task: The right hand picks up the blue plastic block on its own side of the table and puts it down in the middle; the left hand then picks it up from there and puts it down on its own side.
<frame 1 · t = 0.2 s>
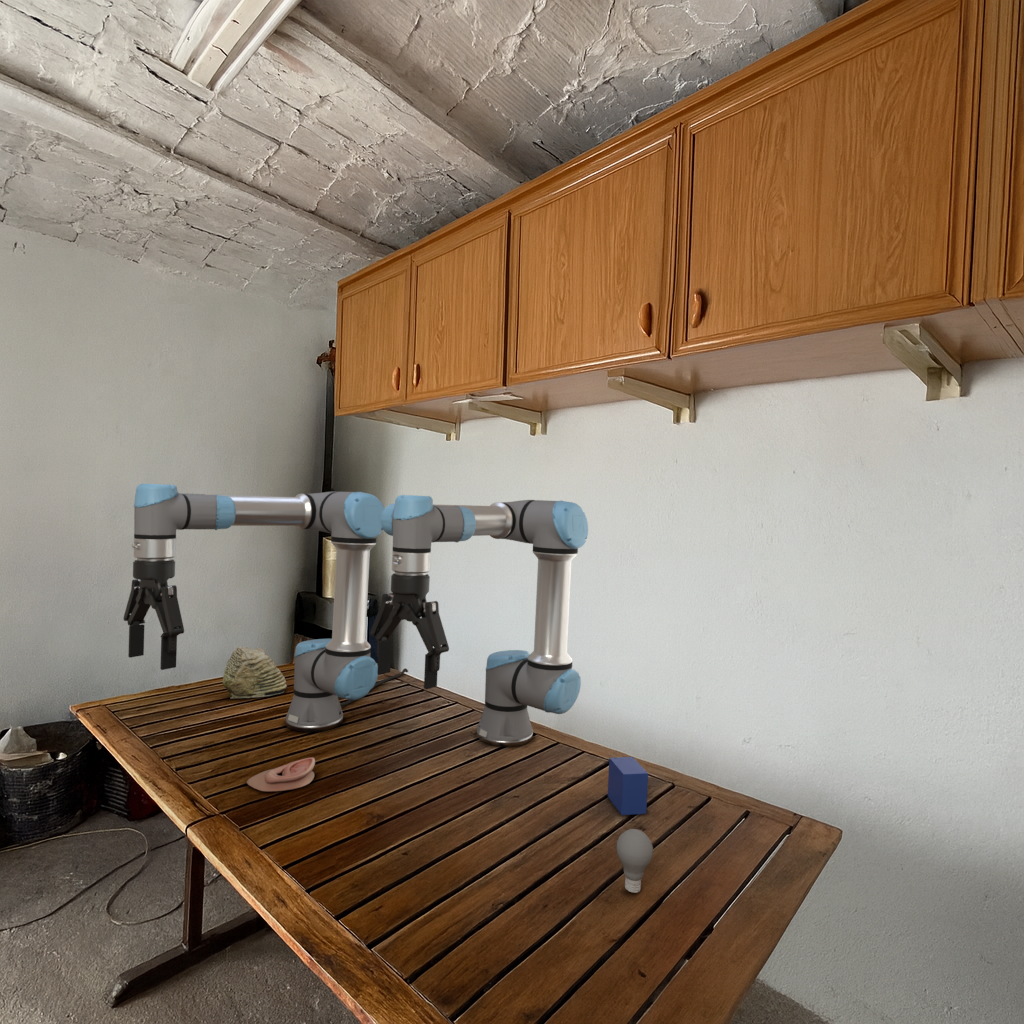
left hand: (151, 662, 130), 28 cm above the table, tool pointing down, fingers open, 13 cm apart
right hand: (406, 680, 125), 28 cm above the table, tool pointing down, fingers open, 13 cm apart
anatomical model: (281, 781, 140), on the table
light bulb: (632, 891, 106), on the table
fossil: (254, 694, 198), on the table
block: (626, 804, 136), on the table
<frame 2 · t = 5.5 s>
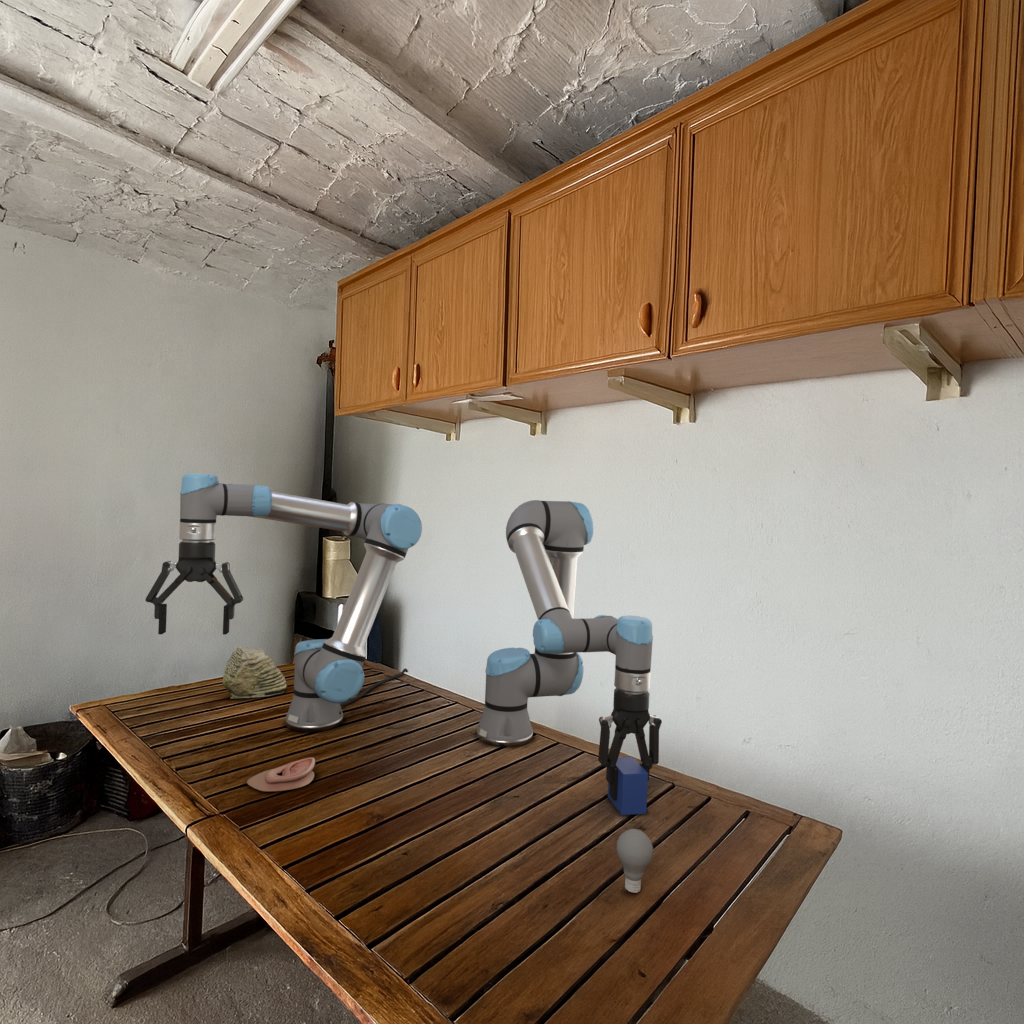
left hand: (194, 633, 146), 31 cm above the table, tool pointing down, fingers open, 13 cm apart
right hand: (626, 796, 136), 2 cm above the table, tool pointing down, fingers closed on block, 5 cm apart
block: (626, 804, 136), on the table, touching right hand
everything else where it was.
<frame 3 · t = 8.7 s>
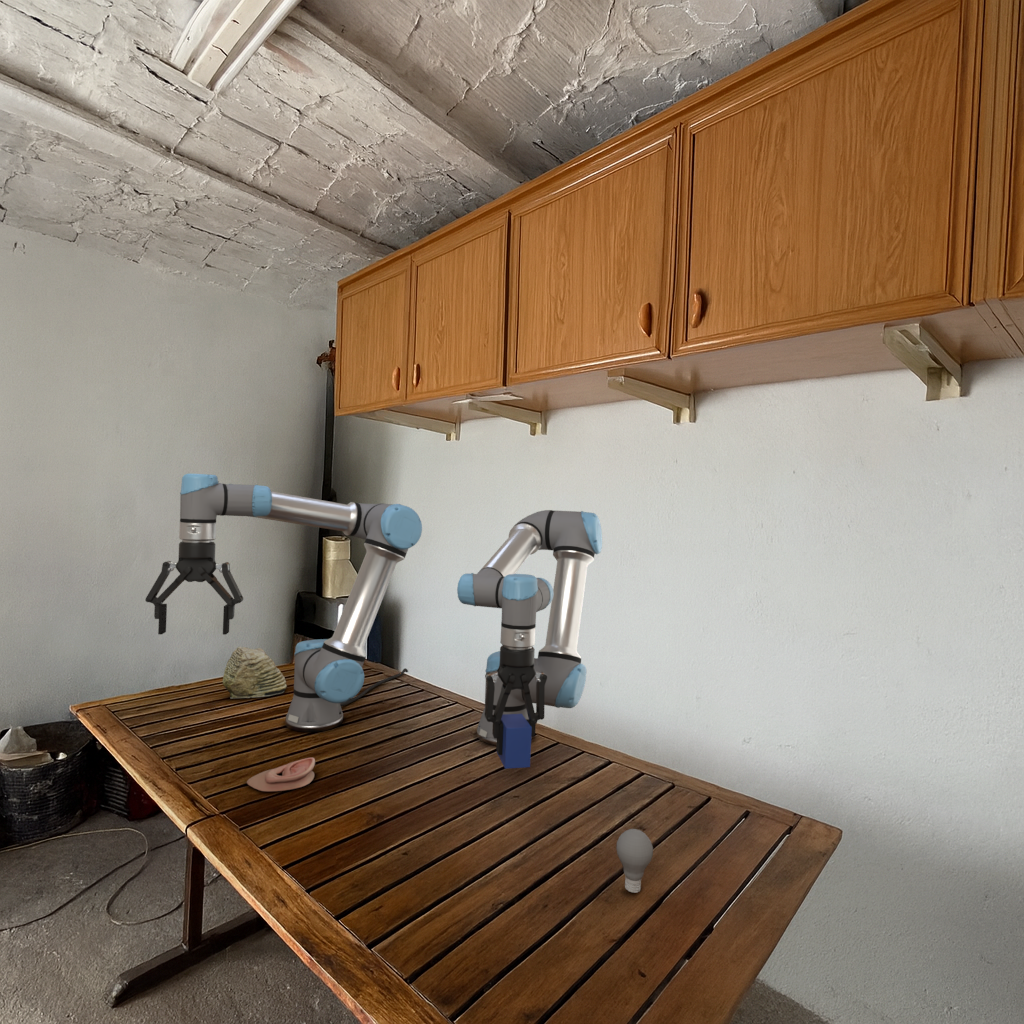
left hand: (194, 633, 146), 31 cm above the table, tool pointing down, fingers open, 13 cm apart
right hand: (513, 751, 138), 10 cm above the table, tool pointing down, fingers closed on block, 5 cm apart
block: (512, 759, 138), point 8 cm above the table, touching right hand
everything else where it was.
when the right hand's fingers open (3 cm above the table, at t = 12.1 s): block drops 1 cm, on the table.
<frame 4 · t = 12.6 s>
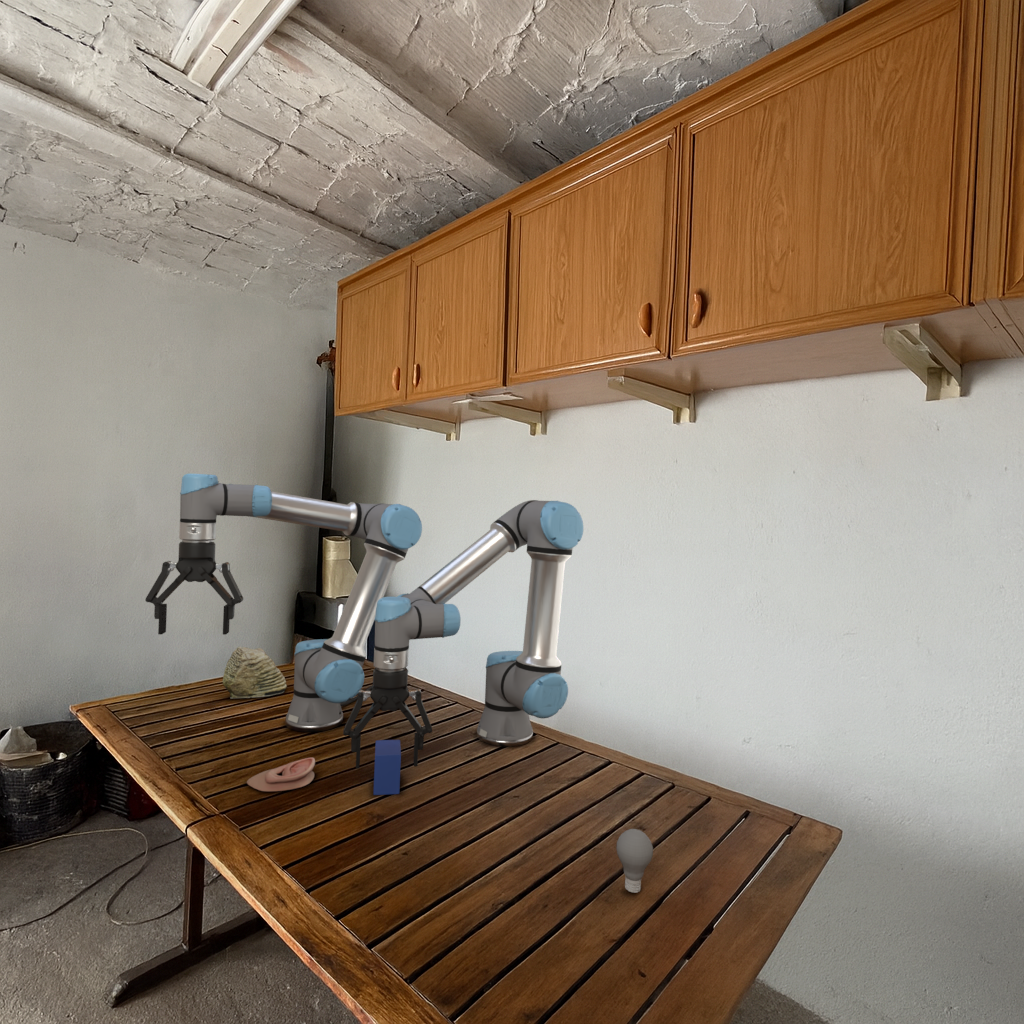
left hand: (194, 633, 146), 31 cm above the table, tool pointing down, fingers open, 13 cm apart
right hand: (386, 764, 140), 5 cm above the table, tool pointing down, fingers open, 12 cm apart
block: (386, 785, 140), on the table
everything else where it was.
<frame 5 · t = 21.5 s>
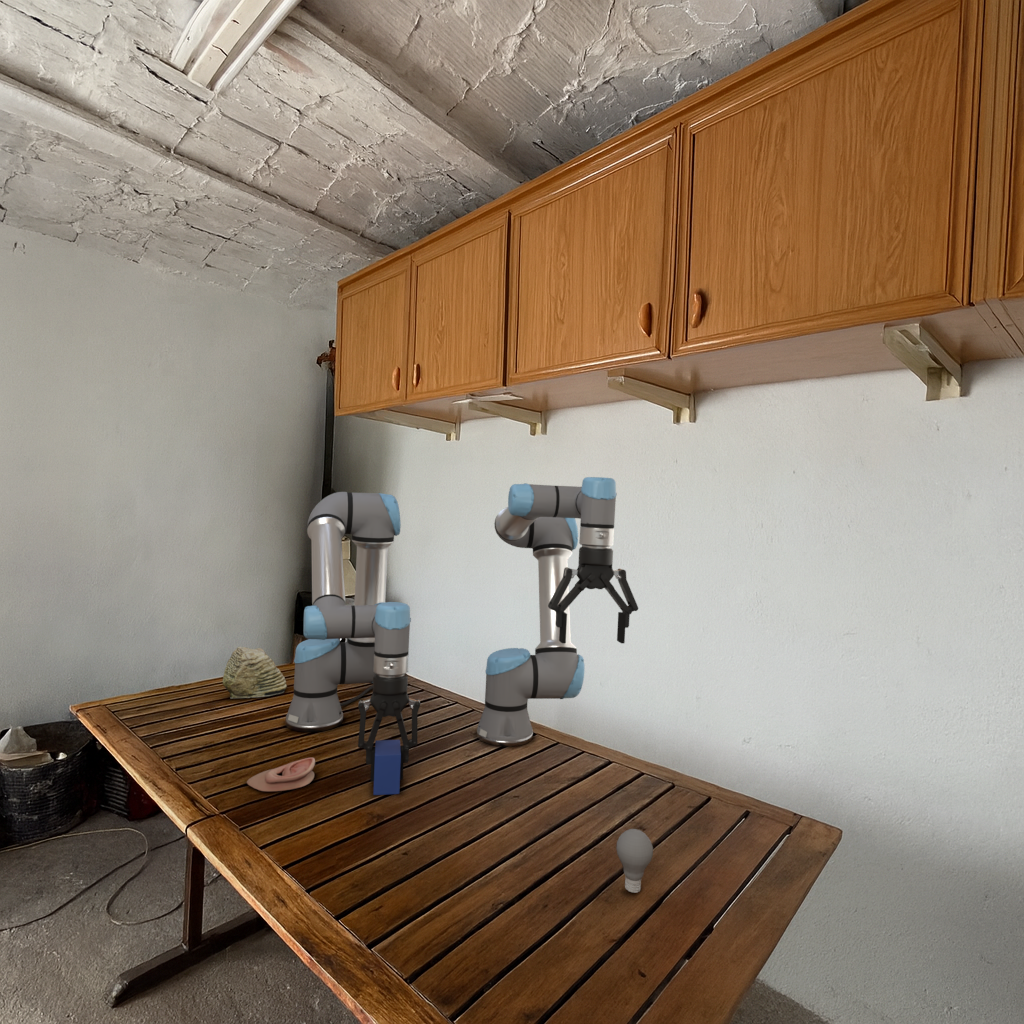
left hand: (386, 777, 140), 2 cm above the table, tool pointing down, fingers closed on block, 5 cm apart
right hand: (591, 642, 141), 34 cm above the table, tool pointing down, fingers open, 13 cm apart
block: (386, 785, 140), on the table, touching left hand
everything else where it was.
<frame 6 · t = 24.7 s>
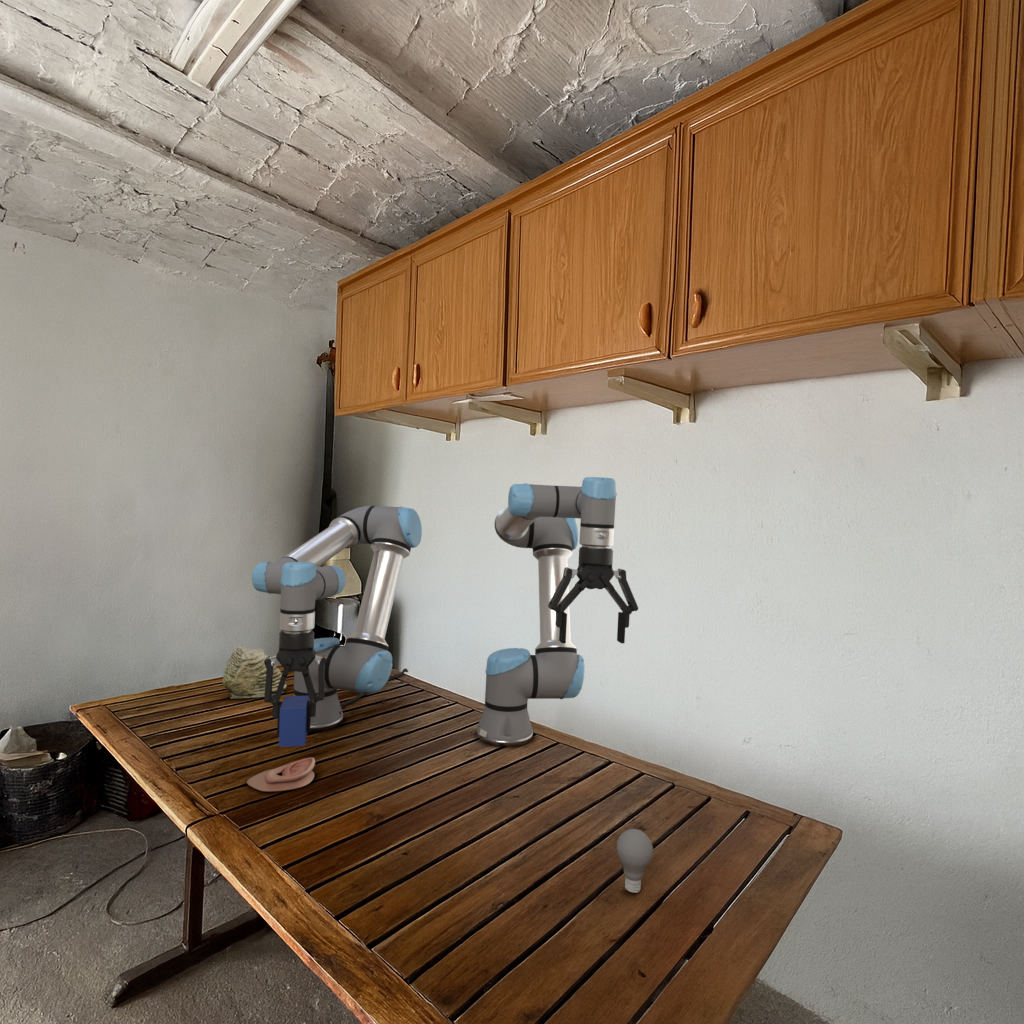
left hand: (293, 730, 145), 10 cm above the table, tool pointing down, fingers closed on block, 5 cm apart
right hand: (591, 642, 141), 34 cm above the table, tool pointing down, fingers open, 13 cm apart
block: (293, 739, 145), point 8 cm above the table, touching left hand
everything else where it was.
when the left hand's fingers open (3 cm above the table, at t = 28.1 s): block drops 1 cm, on the table.
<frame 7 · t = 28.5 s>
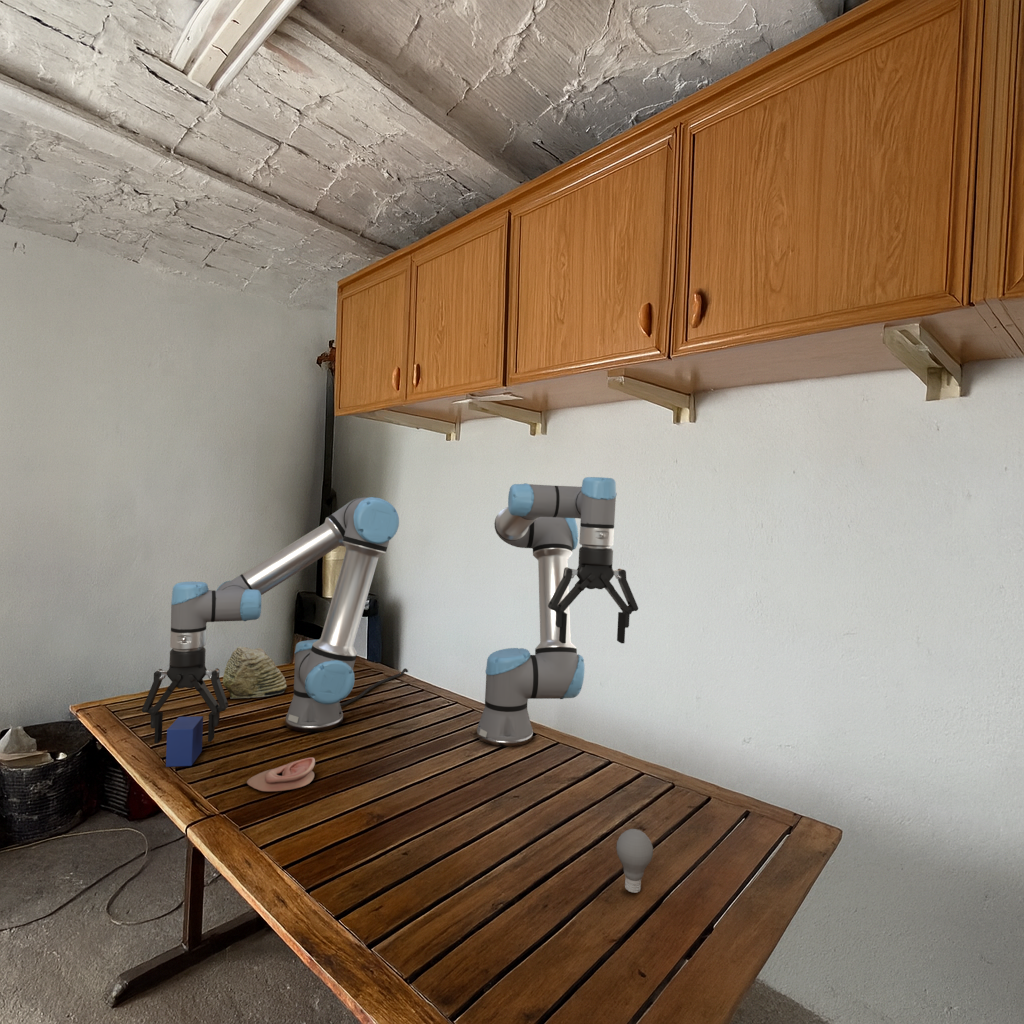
left hand: (184, 740, 150), 4 cm above the table, tool pointing down, fingers open, 11 cm apart
right hand: (591, 642, 141), 34 cm above the table, tool pointing down, fingers open, 13 cm apart
block: (184, 758, 149), on the table
everything else where it was.
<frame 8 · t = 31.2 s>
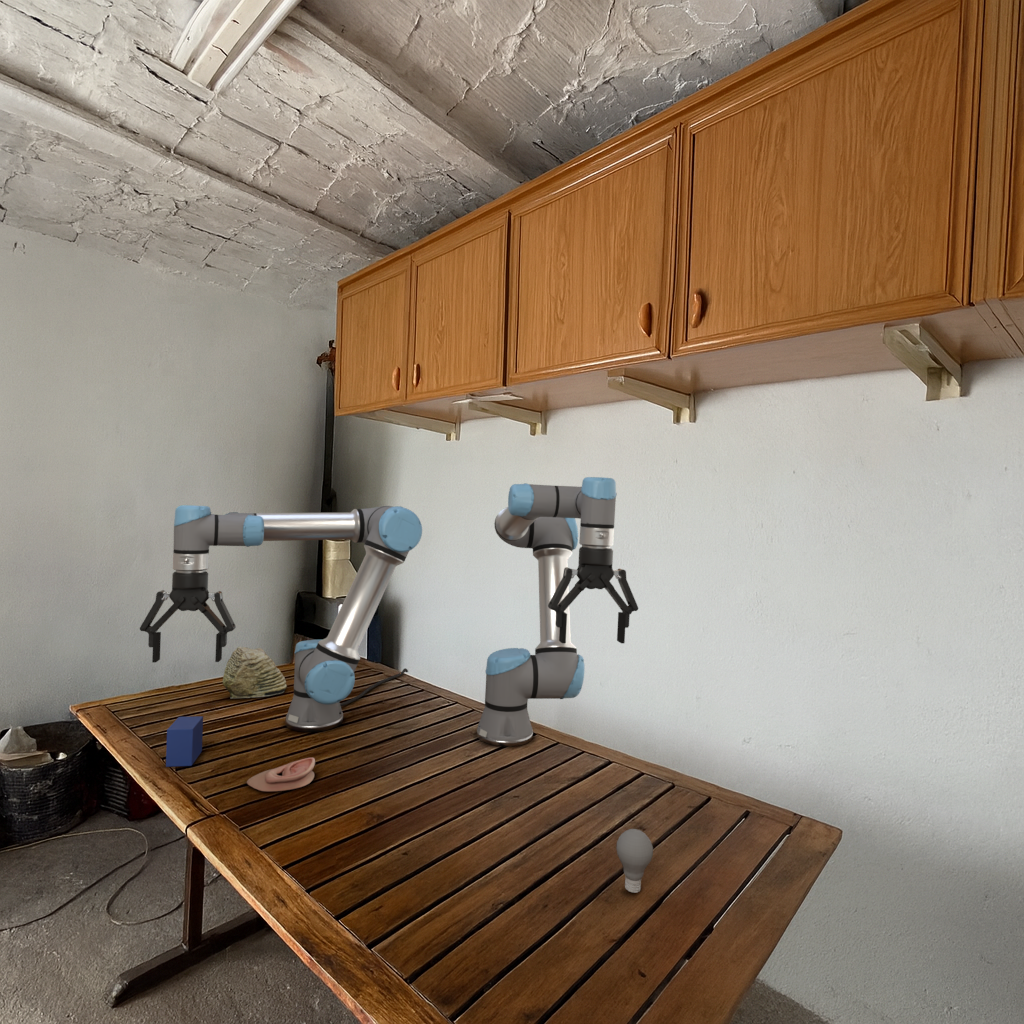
left hand: (187, 660, 149), 23 cm above the table, tool pointing down, fingers open, 13 cm apart
right hand: (591, 642, 141), 34 cm above the table, tool pointing down, fingers open, 13 cm apart
nothing on the table moved.
at the end: block inside the target area (0.2 cm from its centre), on the table; block tilted 0°; the two hands never held the block at the same time; the left hand is holding nothing; the right hand is holding nothing; block at rest at the end (0.0 cm/s) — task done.
